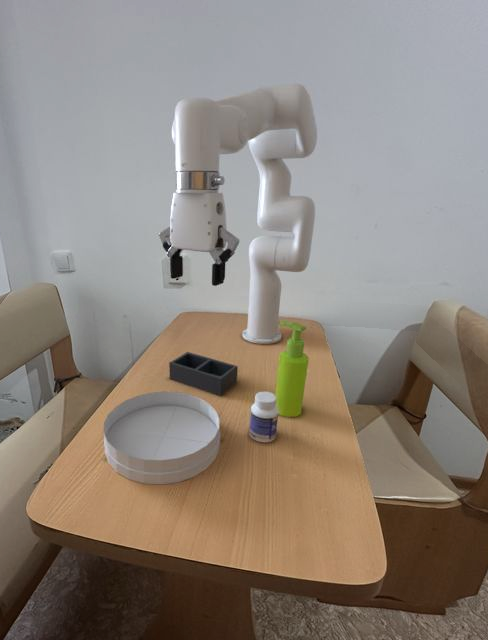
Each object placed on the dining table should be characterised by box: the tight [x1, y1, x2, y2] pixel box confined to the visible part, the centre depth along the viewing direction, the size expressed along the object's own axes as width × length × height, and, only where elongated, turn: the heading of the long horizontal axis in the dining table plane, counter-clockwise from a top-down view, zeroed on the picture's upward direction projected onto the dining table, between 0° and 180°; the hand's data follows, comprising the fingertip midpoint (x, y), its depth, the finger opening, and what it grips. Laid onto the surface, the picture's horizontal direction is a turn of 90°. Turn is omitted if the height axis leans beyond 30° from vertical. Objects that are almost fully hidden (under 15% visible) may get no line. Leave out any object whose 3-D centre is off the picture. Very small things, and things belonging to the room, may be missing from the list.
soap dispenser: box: [274, 320, 310, 418], centre depth 79 cm, size 6×7×20 cm
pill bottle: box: [248, 391, 279, 443], centre depth 72 cm, size 5×5×9 cm
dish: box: [103, 391, 221, 486], centre depth 71 cm, size 22×22×5 cm
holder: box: [168, 351, 239, 397], centre depth 94 cm, size 8×15×5 cm, turn 56°
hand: (196, 280), depth 72 cm, fingers open, 9 cm apart
